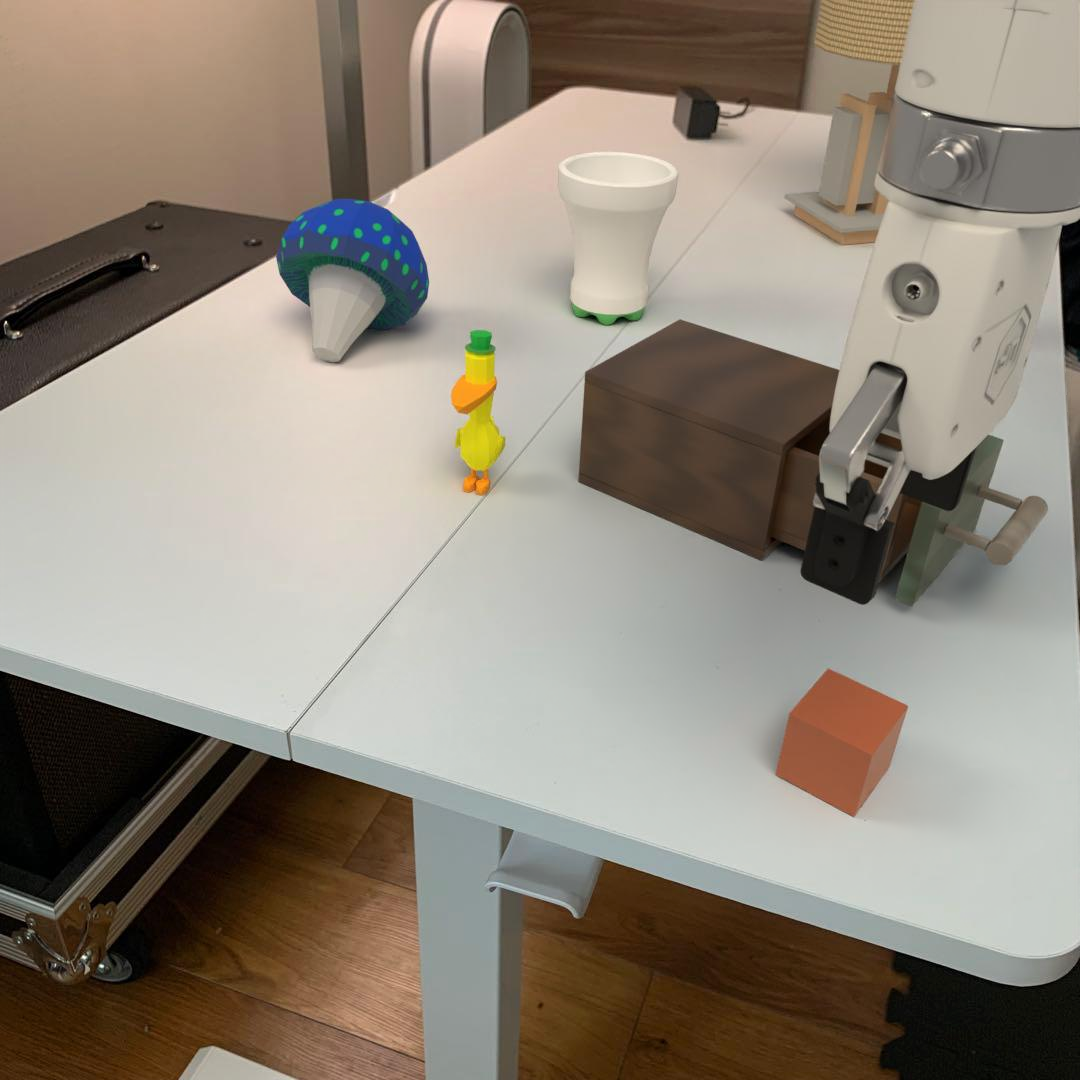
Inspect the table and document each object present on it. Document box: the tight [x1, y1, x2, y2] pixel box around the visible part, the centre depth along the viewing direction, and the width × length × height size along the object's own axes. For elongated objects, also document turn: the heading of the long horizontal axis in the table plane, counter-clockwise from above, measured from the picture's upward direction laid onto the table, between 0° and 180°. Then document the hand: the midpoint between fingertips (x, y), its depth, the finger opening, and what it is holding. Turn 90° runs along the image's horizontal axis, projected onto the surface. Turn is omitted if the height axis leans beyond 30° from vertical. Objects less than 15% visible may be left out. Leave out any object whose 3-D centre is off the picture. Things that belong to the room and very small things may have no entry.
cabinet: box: [577, 319, 840, 561], centre depth 78 cm, size 16×13×9 cm
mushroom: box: [275, 198, 430, 363], centre depth 97 cm, size 14×14×15 cm
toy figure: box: [450, 329, 506, 496], centre depth 76 cm, size 7×4×12 cm, turn 162°
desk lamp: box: [783, 0, 914, 246], centre depth 122 cm, size 20×20×35 cm
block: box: [775, 668, 909, 818], centre depth 56 cm, size 4×4×4 cm
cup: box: [557, 151, 679, 326], centre depth 103 cm, size 11×11×14 cm
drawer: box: [771, 415, 1049, 607], centre depth 72 cm, size 19×11×7 cm, turn 52°
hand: (882, 541), depth 49 cm, fingers open, 9 cm apart
